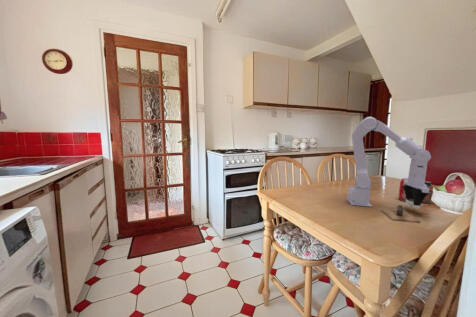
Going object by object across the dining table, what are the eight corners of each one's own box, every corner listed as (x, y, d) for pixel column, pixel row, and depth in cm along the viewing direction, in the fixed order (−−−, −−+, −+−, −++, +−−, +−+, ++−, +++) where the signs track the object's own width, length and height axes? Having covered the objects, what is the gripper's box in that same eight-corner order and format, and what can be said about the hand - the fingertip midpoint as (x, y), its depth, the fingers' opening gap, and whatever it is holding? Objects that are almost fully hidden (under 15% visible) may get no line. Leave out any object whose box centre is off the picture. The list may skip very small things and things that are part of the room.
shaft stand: (392, 220, 81) (393, 208, 81) (380, 210, 91) (382, 200, 90) (420, 222, 79) (421, 211, 78) (405, 213, 88) (407, 202, 88)
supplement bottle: (418, 202, 102) (421, 182, 100) (413, 199, 107) (416, 179, 106) (433, 204, 99) (436, 183, 98) (427, 200, 105) (430, 180, 103)
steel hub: (409, 207, 88) (410, 201, 88) (403, 203, 93) (403, 198, 93) (422, 209, 87) (423, 202, 87) (415, 204, 92) (416, 198, 91)
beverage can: (416, 202, 102) (419, 180, 100) (402, 202, 103) (405, 180, 101) (408, 199, 108) (411, 178, 106) (395, 198, 109) (398, 177, 107)
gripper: (439, 179, 80) (434, 210, 82) (417, 172, 94) (413, 198, 96) (419, 177, 82) (415, 208, 84) (400, 171, 96) (396, 197, 97)
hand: (412, 203), depth 90 cm, fingers closed on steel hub, 5 cm apart
